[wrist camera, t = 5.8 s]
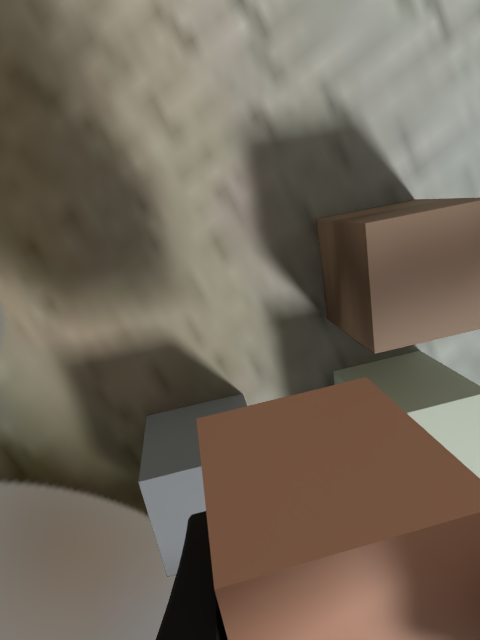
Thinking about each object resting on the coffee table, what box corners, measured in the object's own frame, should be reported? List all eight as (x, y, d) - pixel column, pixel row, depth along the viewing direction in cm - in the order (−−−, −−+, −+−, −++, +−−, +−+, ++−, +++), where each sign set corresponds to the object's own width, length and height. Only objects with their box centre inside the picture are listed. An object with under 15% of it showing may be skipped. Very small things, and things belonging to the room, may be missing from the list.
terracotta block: (377, 512, 13) (497, 694, 8) (229, 554, 12) (264, 775, 7) (366, 377, 11) (508, 503, 6) (196, 418, 11) (213, 589, 6)
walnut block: (417, 298, 20) (491, 326, 15) (326, 318, 20) (374, 353, 15) (413, 199, 19) (495, 197, 14) (315, 218, 18) (365, 223, 13)
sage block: (421, 427, 23) (486, 486, 18) (341, 448, 22) (386, 514, 17) (418, 350, 21) (489, 392, 16) (332, 370, 21) (379, 419, 16)
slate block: (256, 470, 22) (280, 545, 17) (168, 493, 21) (167, 576, 16) (242, 392, 20) (263, 450, 15) (146, 415, 20) (138, 481, 15)
